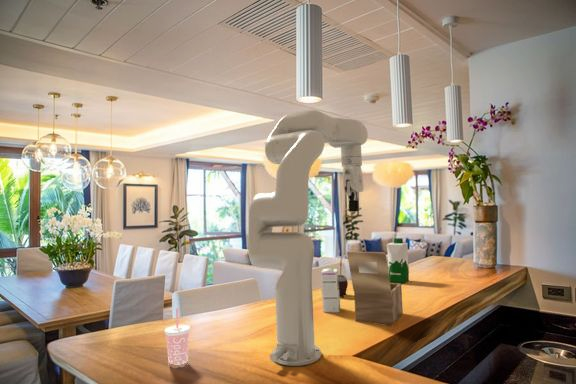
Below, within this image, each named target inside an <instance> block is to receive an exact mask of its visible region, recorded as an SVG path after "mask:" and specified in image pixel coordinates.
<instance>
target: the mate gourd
mask: <svg viewBox="0 0 576 384" xmlns="http://www.w3.org/2000/svg"><path fill="white" fill-rule="evenodd" d="M342 261H343V258H342V256H341V257H340V261H339V274H338V279H339V295H340V298H345V297H344V296H347V290H348V287H349V285H348V278H347V277H346V276H345V275H343V274H342V266H343V265H342Z"/></svg>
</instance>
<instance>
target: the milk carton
mask: <svg viewBox="0 0 576 384" xmlns="http://www.w3.org/2000/svg"><path fill="white" fill-rule="evenodd" d="M403 239H404V238H402V237H398V238H397V237H395V238H393V242H389V243H386V252H387V266H388V273H389V280H390V283H397V284H401V285H402V284H403V285H404V284H406V283H408V282H409V279H410V269H409V267H410V265H409V250H408V249H409V247H408V245H409V244H408V242H404V241H403Z"/></svg>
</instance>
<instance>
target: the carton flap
mask: <svg viewBox="0 0 576 384" xmlns="http://www.w3.org/2000/svg"><path fill="white" fill-rule="evenodd" d="M386 252H387V251H386ZM386 252H383V251H350V250H349V251H346V253H347V255H346V256H347V260H348V261H347V262H348V266H349V272H350V277H351V278H350V279H351V285H352V289H353V292H354V291H356V292H368V293H381V294H391V287H390V280H389V270H388V258H387V254H386Z"/></svg>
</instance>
